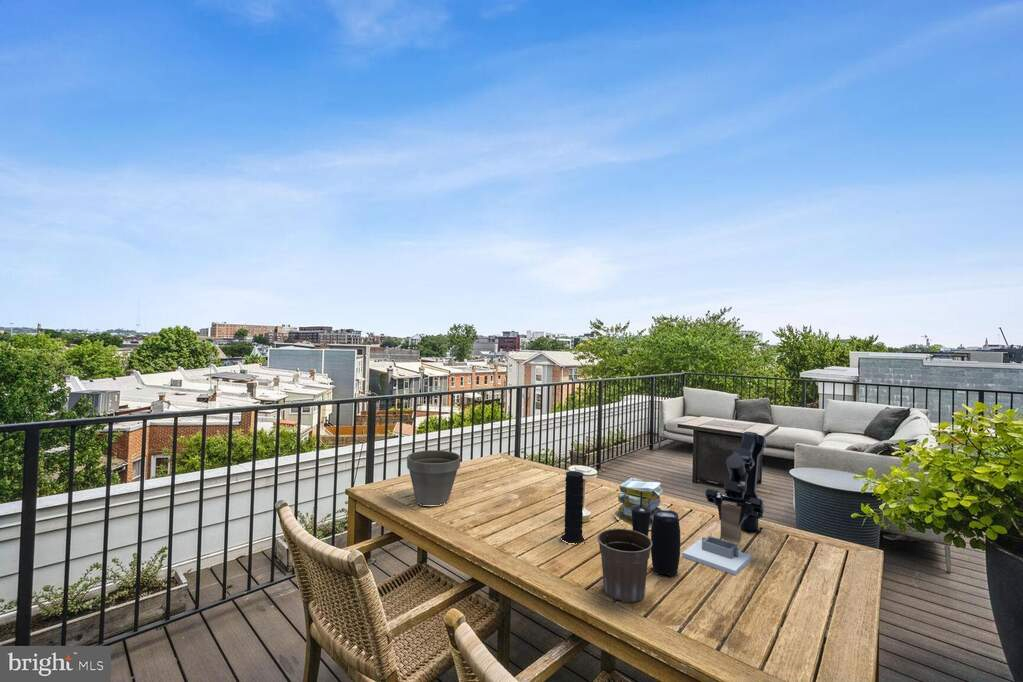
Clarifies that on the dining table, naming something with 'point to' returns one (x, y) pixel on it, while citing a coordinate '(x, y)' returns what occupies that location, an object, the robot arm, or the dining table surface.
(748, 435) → the robot arm
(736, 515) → the wooden rectangular pillar
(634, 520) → the drinking cup
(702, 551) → the white base with frame
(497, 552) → the dining table surface
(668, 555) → the portable speaker
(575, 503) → the handle grip
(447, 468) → the plant pot
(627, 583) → the plant pot
